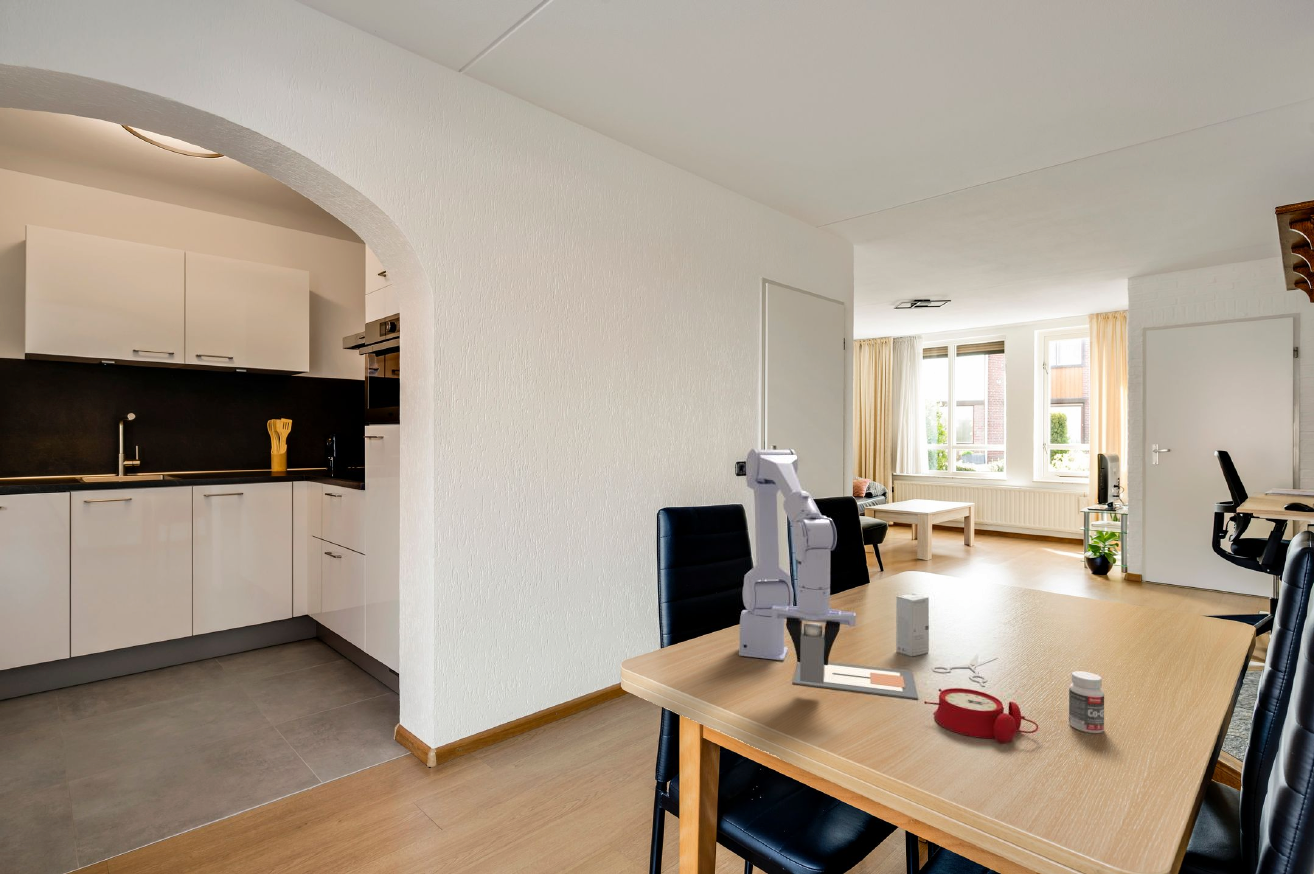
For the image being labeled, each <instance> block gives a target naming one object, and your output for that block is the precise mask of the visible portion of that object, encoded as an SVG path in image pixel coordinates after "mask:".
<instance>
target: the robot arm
mask: <svg viewBox="0 0 1314 874" xmlns="http://www.w3.org/2000/svg"><path fill="white" fill-rule="evenodd" d="M798 469H799V459H798V456H797V453H796V452H795V450H794V449H791V448H789V449H757V448H751V449H750V450H749V452H748V453H747V456H746V460H745V474H746V475H745V476H746V477H745V479H746V486H747V487H748V488H750V489H752V490H753V497H754V499H753V500H754V519H755V520H754V524H755V525H754V528H755V558H756V562H755V563H756V565H755V566H754V567H752V568H751V569H750V570H749V571H748V572H746V574H744V578H743V586H742V601H743V602H742V603H743V605H744V607H745V609H743V610H742V611H741V612H740V613H741V614H740V617H739V618H740V619H739V652H738V655H739V656H742V657H749V658H760V659H767V660H775V661H776V660H777V661H784V660H785V658H786V655H787V653H788V650H789V648H788V647H787V646H785V626H786V629H787V631H788V633H789V634H788V635H789V636H790V638H791V640H792V644H793V647H794V651H795V655H796V661H797V663H798V662H800V648H801V633H802V630H803V621H804V622H812V623H825V626H824V632H825V652H824V665H828V662H829V658H830V654H831V650H832V648H833V645H834V643H835V640H836V638H837V637H838V634H839V633H840V629H841V625H845V626H849V627H854V628H855V627H856V625H857V624H856V620H857V618H856V616H857V615H856V612H850V611H849V612H848V611H844V610H837V609H833V608H832V609H830V608H831V551H833V550H835V548H836V546H837V539H838V535H837V528H836V525H835V523H834V522H835V521H833V519H832V518H831V517H827V516H826V515H822V513H821V512H820V509H819V508H818V505H817V504H816V502H815V501H814V499H813V496H812V495H811V493H809V492H808V491H805V490H803V488H802V486H801V484H800V480H799V478H798V476H797V473H798ZM779 492H780V493H781V494H782V496H783V498H784V500H783V509H784V512H785V513H786V516H787V518H788V520H789V522H790V525H791V526H792V532H791V533H792V534H791V536H792V543H793V547H794V559H796V560H797V569H796V571H797V572H796V573H797V575H796V576H797V581H796V582H797V586H796V587H797V589H796V594H797V595H796V606H795V605H794V598H795V597H794V589H793V586H792V578H791V575H790V574H789V573H788V572H787V571H785V570H784V569H783V568H781V566H780V556H779V555H780V553H779V549H780V548H779V526H778V523H779V521H778V496H777V495H778V493H779ZM785 620H786V621H785ZM785 622H786V623H785Z"/></svg>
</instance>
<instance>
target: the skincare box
mask: <svg viewBox="0 0 1314 874" xmlns="http://www.w3.org/2000/svg"><path fill="white" fill-rule="evenodd" d="M929 599H930V598H929V597H928V596H925V595H919V594H915V593H912V594H911V593H910V594H903V595H898V596H896V604H895V605H896V612H895V613H896V626H895V628H896V632H895V633H896V634H895V635H896V636H895V637H896V640H895V641H896V643H895V644H896V645H895V647H896V649H895V650H896V652H897V653H900V654H902V655H906V656H909V657H915V656H919V655H924V654H928V653H929V651H930V645H929V644H930V643H929V641H930V636H929V635H930V633H929V632H930V631H929V629H930V624H929V623H930V620H929V619H930V618H929V617H930V616H929V614H930V612H929V611H930V609H929V606H930V605H929V603H930V602H929Z"/></svg>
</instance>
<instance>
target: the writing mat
mask: <svg viewBox="0 0 1314 874" xmlns="http://www.w3.org/2000/svg"><path fill="white" fill-rule="evenodd" d="M792 685H798V686H807V687H814V688H824V689H831V690H839V691H848V692H855V693H863V694H871V695H879V696H888V697H897V698H904V699H911V700H919V695H918V691H917V687H916V681H915V677H914V673H913V671H912V670H902V669H893V668H886V667H874V666H869V665H868V666H866V665H857V664H851V663H850V664H849V663H841V662H831V661H828V665H825V677H824V683H823V684H821V683H812V682H804V681H800V662H797V666H796V670H795V673H794V676H793V679H792Z"/></svg>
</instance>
